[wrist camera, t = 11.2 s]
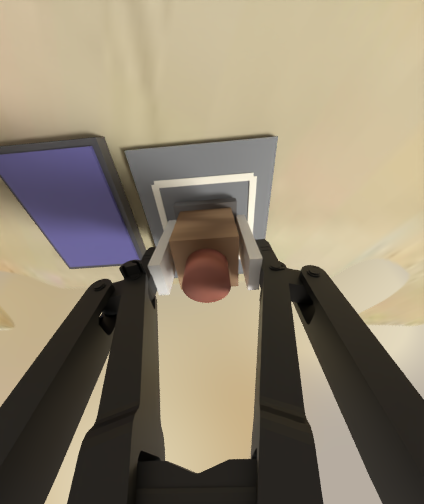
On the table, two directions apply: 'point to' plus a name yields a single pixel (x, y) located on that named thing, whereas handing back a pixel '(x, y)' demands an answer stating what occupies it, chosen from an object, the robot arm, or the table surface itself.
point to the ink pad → (74, 200)
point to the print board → (205, 179)
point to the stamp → (206, 248)
